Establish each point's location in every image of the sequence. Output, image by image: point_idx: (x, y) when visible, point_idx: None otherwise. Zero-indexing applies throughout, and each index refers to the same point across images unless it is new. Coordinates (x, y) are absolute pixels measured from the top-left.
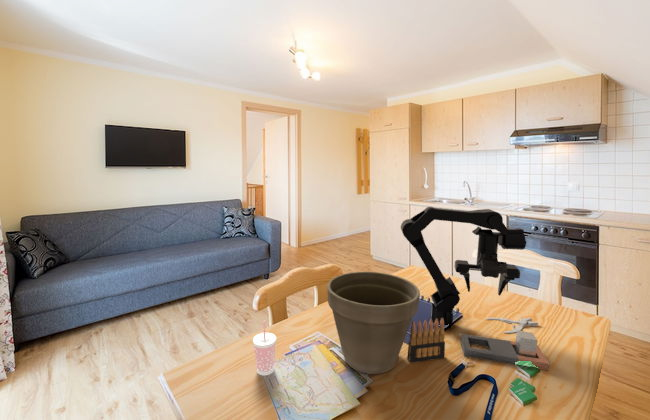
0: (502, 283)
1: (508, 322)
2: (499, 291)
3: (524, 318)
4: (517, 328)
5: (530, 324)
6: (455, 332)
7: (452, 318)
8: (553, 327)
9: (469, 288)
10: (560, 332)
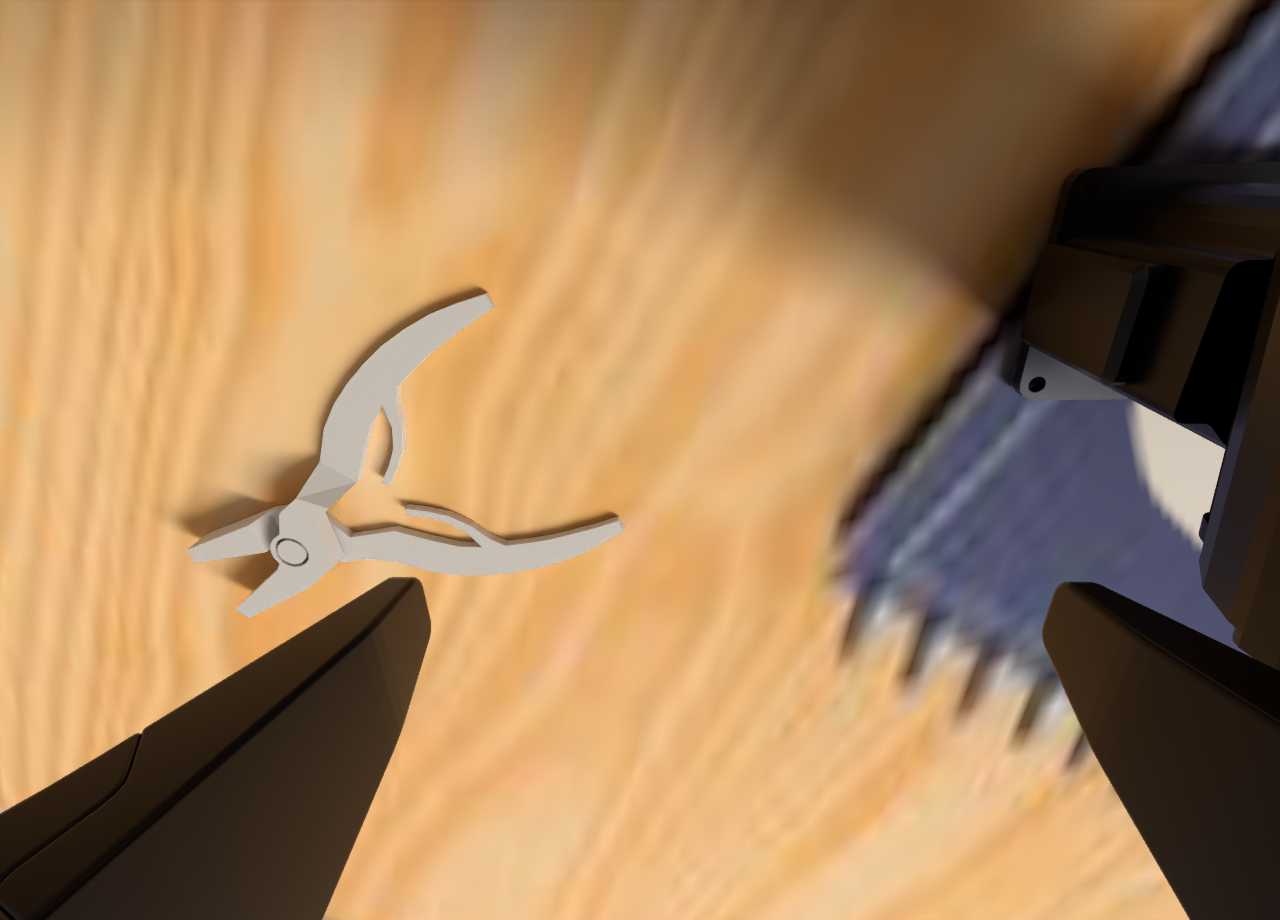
0: (86, 865)
1: (432, 511)
2: (365, 631)
3: (293, 590)
4: (360, 421)
5: (253, 520)
6: (1029, 114)
7: (1099, 258)
8: (97, 542)
9: (1148, 634)
10: (39, 475)
